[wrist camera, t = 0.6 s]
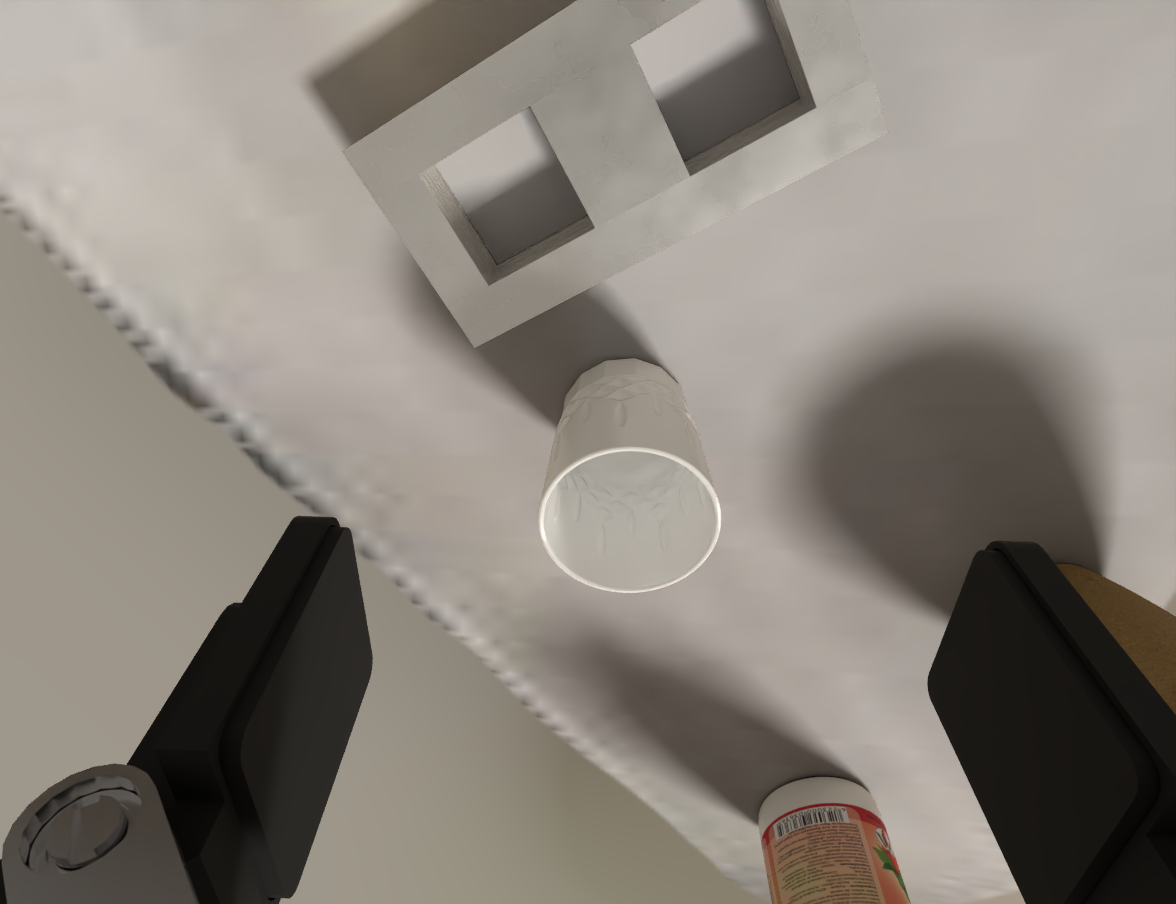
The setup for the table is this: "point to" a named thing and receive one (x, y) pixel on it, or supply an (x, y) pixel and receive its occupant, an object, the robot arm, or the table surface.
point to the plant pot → (1132, 626)
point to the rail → (607, 151)
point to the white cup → (628, 482)
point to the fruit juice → (828, 845)
